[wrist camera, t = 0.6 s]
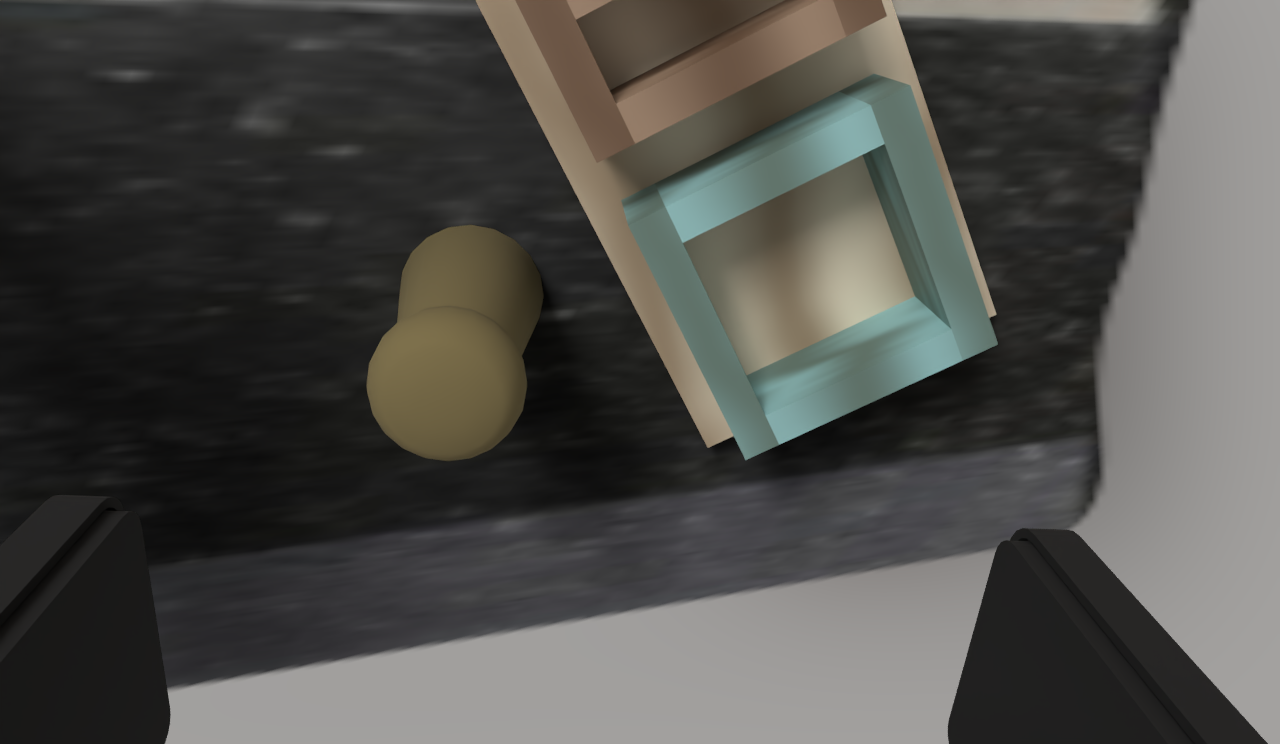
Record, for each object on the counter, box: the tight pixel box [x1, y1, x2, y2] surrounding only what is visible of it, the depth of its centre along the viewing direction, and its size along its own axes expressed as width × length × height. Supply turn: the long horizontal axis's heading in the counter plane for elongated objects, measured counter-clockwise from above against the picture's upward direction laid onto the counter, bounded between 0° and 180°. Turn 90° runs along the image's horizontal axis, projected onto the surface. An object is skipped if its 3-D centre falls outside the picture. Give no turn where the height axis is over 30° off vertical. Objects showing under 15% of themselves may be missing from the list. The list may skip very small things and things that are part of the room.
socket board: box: [476, 0, 998, 460], centre depth 35 cm, size 14×22×5 cm, turn 26°
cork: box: [367, 225, 544, 461], centre depth 34 cm, size 6×6×11 cm
